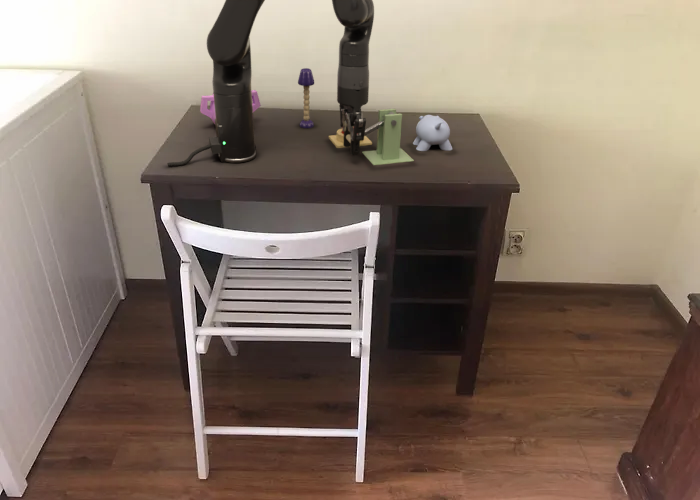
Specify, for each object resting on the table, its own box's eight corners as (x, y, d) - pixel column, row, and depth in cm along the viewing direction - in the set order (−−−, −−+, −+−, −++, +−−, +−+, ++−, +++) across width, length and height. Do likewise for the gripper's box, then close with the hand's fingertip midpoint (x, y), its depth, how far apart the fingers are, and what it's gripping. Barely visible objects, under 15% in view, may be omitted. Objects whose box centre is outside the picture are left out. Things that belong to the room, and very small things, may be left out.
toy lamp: (317, 127, 175) (317, 70, 166) (303, 130, 173) (303, 72, 164) (309, 122, 178) (308, 66, 170) (295, 125, 176) (294, 68, 168)
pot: (194, 121, 177) (190, 81, 171) (250, 113, 184) (248, 75, 178) (211, 141, 164) (207, 99, 158) (271, 132, 171) (269, 91, 165)
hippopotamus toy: (442, 136, 171) (446, 104, 166) (457, 156, 158) (461, 121, 153) (405, 137, 170) (408, 104, 165) (417, 157, 157) (420, 122, 152)
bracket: (373, 169, 150) (375, 119, 143) (361, 155, 157) (363, 108, 151) (413, 164, 153) (417, 116, 146) (400, 152, 160) (403, 105, 154)
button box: (336, 151, 159) (337, 138, 158) (328, 141, 166) (328, 128, 164) (372, 148, 162) (372, 135, 160) (362, 138, 169) (363, 125, 167)
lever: (353, 149, 148) (350, 141, 146) (347, 142, 152) (344, 134, 150) (400, 123, 148) (396, 115, 147) (392, 117, 152) (389, 109, 151)
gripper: (329, 76, 147) (329, 141, 155) (347, 92, 135) (345, 162, 144) (358, 74, 149) (356, 139, 157) (378, 90, 137) (375, 159, 146)
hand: (351, 150), depth 150 cm, fingers closed on lever, 5 cm apart
